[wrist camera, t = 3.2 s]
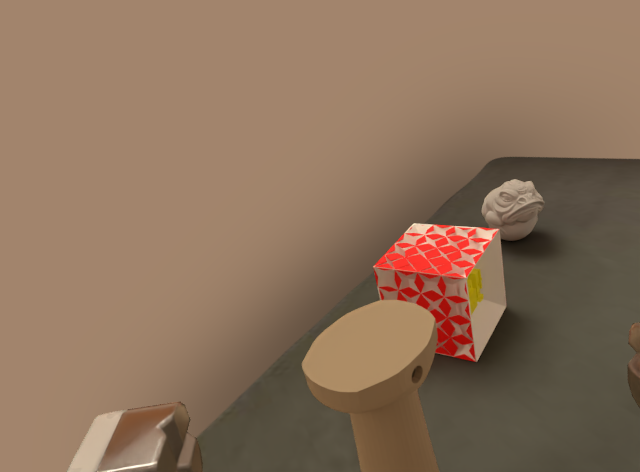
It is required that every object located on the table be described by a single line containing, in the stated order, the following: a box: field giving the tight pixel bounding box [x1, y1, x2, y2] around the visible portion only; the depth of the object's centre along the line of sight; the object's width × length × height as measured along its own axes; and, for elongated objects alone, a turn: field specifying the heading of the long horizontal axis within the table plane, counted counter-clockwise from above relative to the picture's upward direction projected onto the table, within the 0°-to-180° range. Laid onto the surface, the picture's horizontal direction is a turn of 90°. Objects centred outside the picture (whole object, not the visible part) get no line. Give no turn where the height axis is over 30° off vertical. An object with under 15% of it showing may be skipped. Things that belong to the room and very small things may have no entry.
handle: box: [302, 300, 439, 472], centre depth 26 cm, size 5×6×15 cm
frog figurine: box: [482, 179, 544, 241], centre depth 56 cm, size 6×7×7 cm
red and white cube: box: [373, 223, 506, 362], centre depth 45 cm, size 8×8×8 cm
